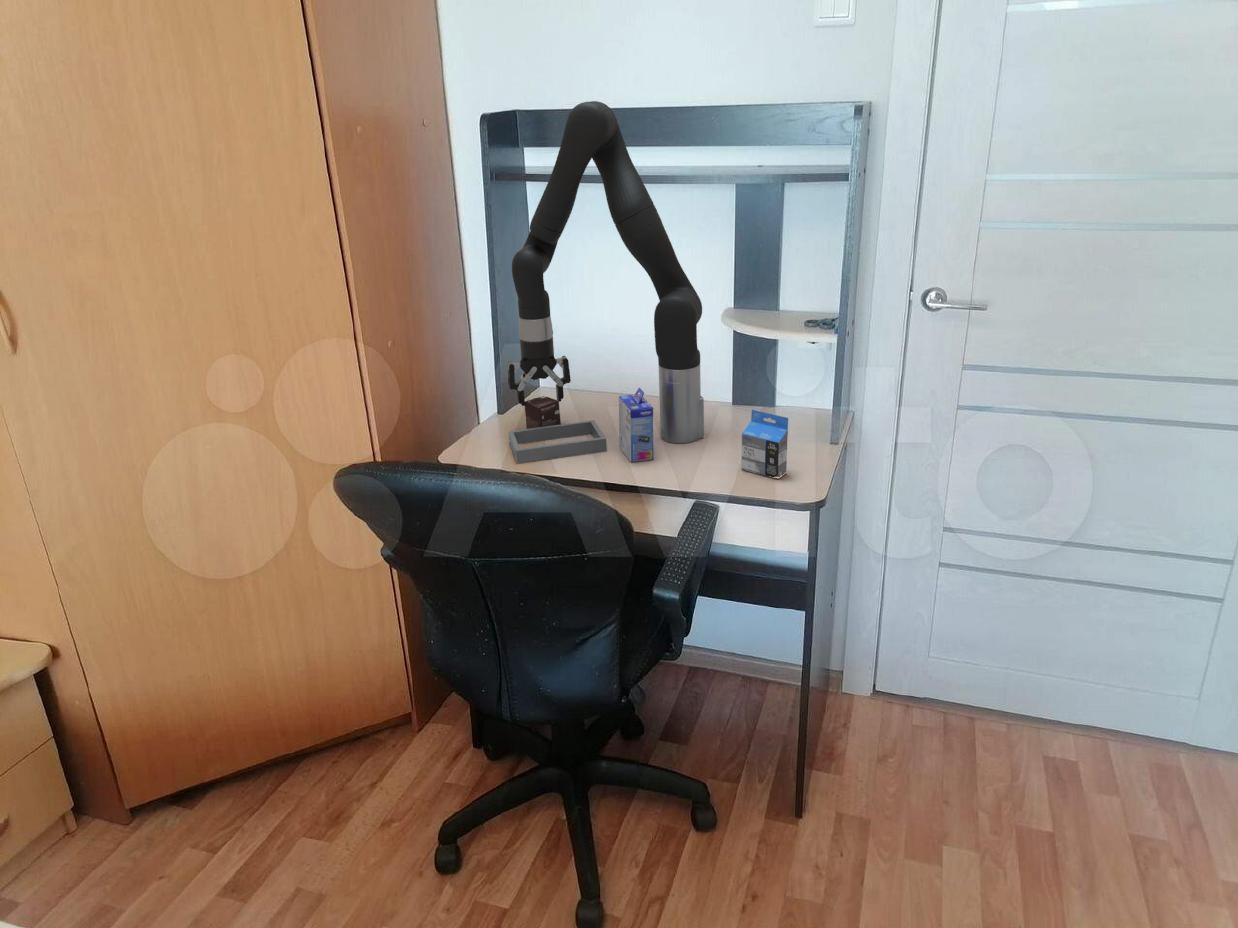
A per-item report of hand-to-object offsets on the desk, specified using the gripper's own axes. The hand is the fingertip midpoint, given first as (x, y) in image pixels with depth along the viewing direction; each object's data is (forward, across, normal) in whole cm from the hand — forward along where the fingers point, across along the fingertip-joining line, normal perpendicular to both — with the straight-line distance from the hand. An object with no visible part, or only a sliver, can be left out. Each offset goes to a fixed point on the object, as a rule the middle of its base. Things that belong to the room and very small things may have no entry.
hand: (540, 402), depth 211 cm
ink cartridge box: (+7, -17, +21) cm, 28 cm away
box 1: (+7, 0, 0) cm, 7 cm away
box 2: (+7, -1, +12) cm, 14 cm away
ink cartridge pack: (+6, -40, +40) cm, 56 cm away
